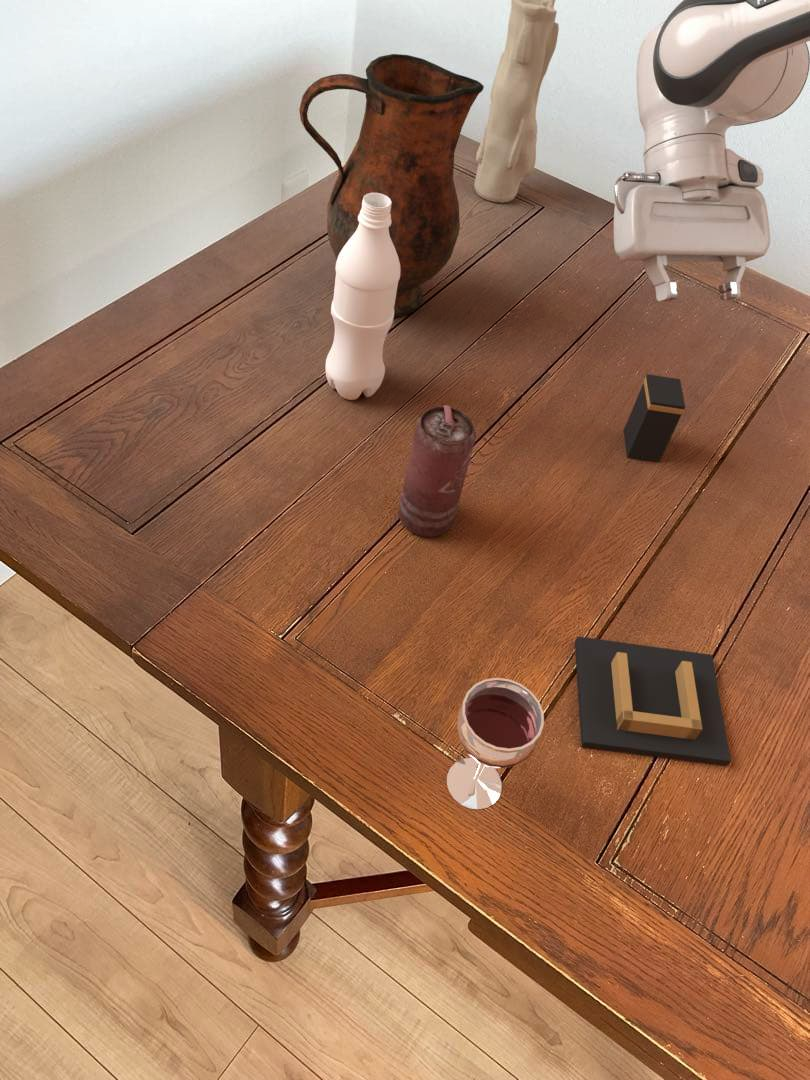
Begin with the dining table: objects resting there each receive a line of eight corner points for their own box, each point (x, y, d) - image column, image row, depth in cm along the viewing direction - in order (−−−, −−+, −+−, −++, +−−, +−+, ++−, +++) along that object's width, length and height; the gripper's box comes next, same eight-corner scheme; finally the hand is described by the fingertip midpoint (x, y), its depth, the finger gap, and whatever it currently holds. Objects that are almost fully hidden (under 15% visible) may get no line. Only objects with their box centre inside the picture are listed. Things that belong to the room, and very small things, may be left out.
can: (446, 495, 109) (469, 401, 98) (457, 538, 105) (483, 444, 94) (393, 497, 107) (411, 401, 97) (403, 540, 103) (423, 445, 93)
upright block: (655, 434, 121) (680, 378, 114) (659, 463, 117) (686, 407, 111) (623, 429, 120) (646, 373, 114) (626, 458, 117) (651, 401, 110)
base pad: (708, 659, 99) (719, 643, 96) (726, 766, 91) (739, 750, 88) (574, 641, 98) (582, 624, 96) (581, 747, 90) (590, 731, 88)
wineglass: (475, 735, 89) (503, 663, 80) (527, 789, 86) (562, 721, 77) (420, 776, 86) (443, 705, 77) (473, 834, 83) (503, 767, 74)
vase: (489, 173, 158) (533, -27, 135) (533, 194, 155) (585, -6, 133) (461, 191, 153) (502, -13, 130) (506, 214, 150) (556, 9, 128)
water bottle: (336, 410, 115) (358, 222, 97) (315, 372, 119) (332, 185, 101) (391, 400, 118) (422, 215, 99) (368, 363, 122) (394, 179, 103)
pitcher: (456, 332, 129) (505, 111, 106) (297, 336, 123) (313, 104, 101) (428, 260, 139) (467, 44, 116) (280, 260, 134) (291, 35, 111)
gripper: (632, 160, 100) (646, 293, 101) (773, 169, 110) (786, 292, 110) (594, 181, 106) (608, 307, 107) (731, 189, 115) (743, 305, 116)
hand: (699, 299), depth 108 cm, fingers open, 8 cm apart
